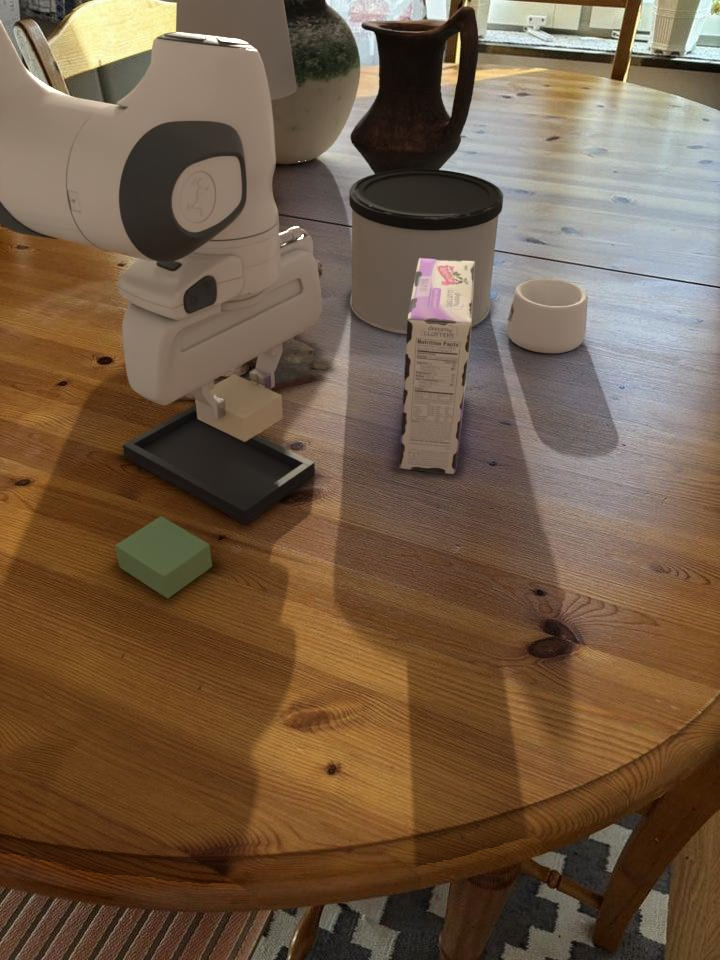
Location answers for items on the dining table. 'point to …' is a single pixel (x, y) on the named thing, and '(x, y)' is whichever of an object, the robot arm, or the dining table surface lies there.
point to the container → (418, 238)
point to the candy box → (436, 364)
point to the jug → (417, 93)
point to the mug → (548, 316)
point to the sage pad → (164, 556)
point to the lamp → (246, 33)
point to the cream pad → (245, 407)
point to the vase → (316, 82)
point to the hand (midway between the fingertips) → (238, 402)
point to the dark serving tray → (219, 465)
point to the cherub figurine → (282, 364)
